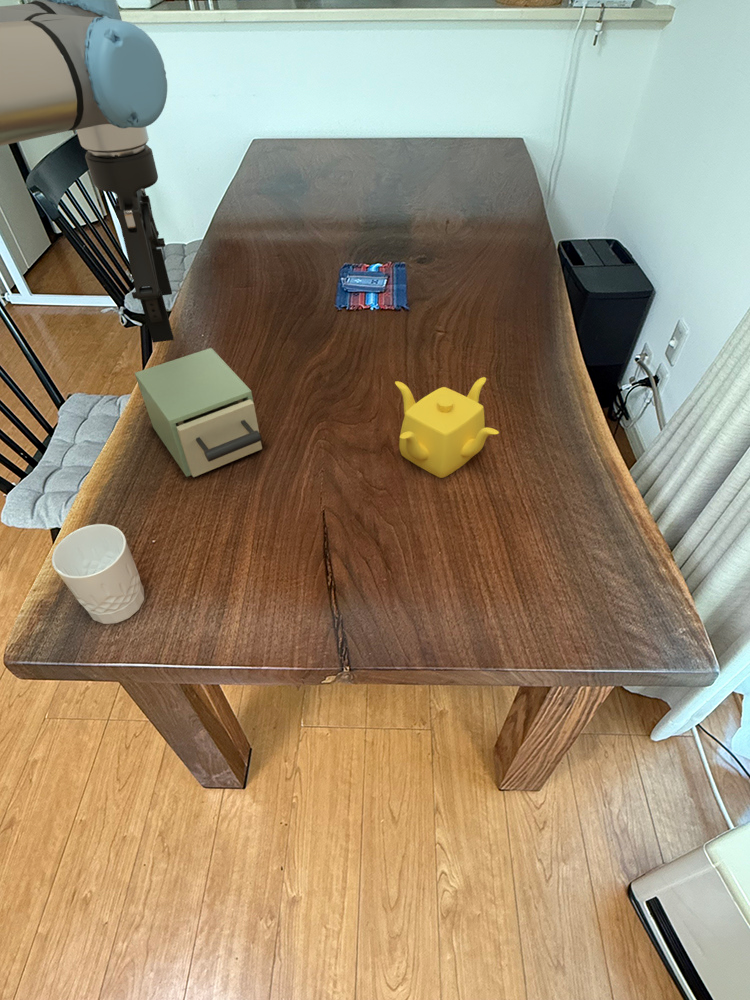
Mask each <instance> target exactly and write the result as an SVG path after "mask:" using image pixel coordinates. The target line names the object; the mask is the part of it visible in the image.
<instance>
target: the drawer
mask: <svg viewBox="0 0 750 1000" xmlns="http://www.w3.org/2000/svg"><path fill="white" fill-rule="evenodd" d="M175 424H176V428H177V431H178V435H179V438H180V441H181V444H182V448H183V451H184V454H185V457H186V461H187V464H188V467H189V470H190V473H191V475H190V476H192V478H195V477H199V476H200V475H202V474H206V473H208V472H210V471H212V470H215V469H217V468H220V467H222V466H225V465H227V464H230V463H233V462H234V461H237V460H239V459H242V458H244V457H246V456H248V455H252V454H254V453H256V452H259V451H262V450H263V446H262V436H261V434H260V429H259V424H258V419H257V414H256V407H255V403H254V401H253V402H252V401H251V399H249V400H247V401H244V402H243V399H240V400H238V401H235V402H232V403H229V404H227V405H224V406H221V407H219V408H216V409H213V410H211V411H208V412H205V413H202V414H200V415H197V416H194V417H192V418H189V419H186V420H184V421H181V422H178V423H175Z"/></svg>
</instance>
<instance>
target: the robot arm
mask: <svg viewBox="0 0 750 1000" xmlns="http://www.w3.org/2000/svg"><path fill="white" fill-rule="evenodd" d="M167 97H168V79H167V71H166V69H165V63H164V59H163V57H162V55H161V52H160V51H159V48H158V46H157V45H156V44H155V42H154V40H153V39H152V38H151V36H150V35H149V34H148V33H147V32H146V31H145V30H144V29H142V28H141V27H140V26H138V25H136V24H135V23H132V22H129V21H126V20H125V21H124V20H123V18H122V15H121V12H120V8H119V5H118V1H117V0H32V1H31V2H30V1H29V2H27V3H21V4H12V5H0V147H1V146H6V145H11V144H15V143H19V142H24V141H29V140H33V139H37V138H42V137H43V138H44V137H46V136H51V135H56V134H61V133H65V132H70V131H71V132H72V131H76V133H77V138H78V140H79V144H80V146H81V147H82V149H84V150H86V152H85V155H84V157H85V161H86V164H87V167H88V170H89V174H90V177H91V181H92V183H93V186H94V187H96V188H97V189H98V190H100V191H102V192H107V193H109V192H111V193H113V194H116V196H117V197H115V203H116V204H114V211H115V215H116V219H118V223H119V226H120V231H121V234H122V239H123V242H124V247H125V251H126V255H127V260H128V264H129V268H130V272H131V273H130V274H131V277H132V282H133V286H134V290H135V291H133V292H132V291H131V296H132V299H134V300H136V299H137V300H138V301H140V304H141V308H142V310H143V314H144V317H145V321H146V324H147V328H148V331H149V335H150V338H151V341H152V343H154V344H155V343H161V342H169V341H174V340H175V338H174V334H173V330H172V327H171V323H170V318H169V314H168V311H167V306H166V304H165V303H166V302H165V300H164V296H170V295H173V290H172V287H171V283H170V278H169V274H168V271H167V267H166V262H165V258H164V254H163V251H162V248H164V247H165V248H166V243H165V238H164V237H161V238H159V237H160V232H159V230H158V228H157V225H156V222H155V218H154V215H153V210H152V204H151V198H150V195H147V193H146V189H148V188H151V187H152V186H154V185H155V184H156V183H157V182H158V179H159V174H158V170H157V166H156V162H155V158H154V154H153V149H152V148H151V147H150V146H149V145H148V144H147V143H148V142H149V138H150V137H149V133H148V131H147V127H148V126H150V125H152V124H153V123H155V122H156V121H157V120H158V119H159V118H160V116H161V115H162V113H163V111H164V109H165V106H166V103H167Z"/></svg>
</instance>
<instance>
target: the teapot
mask: <svg viewBox="0 0 750 1000" xmlns="http://www.w3.org/2000/svg"><path fill="white" fill-rule="evenodd" d="M486 382H487V377H485V376H482V377H480V378H478V379H476V381H475V382H474V384H473V385H472V387H471V388H470V390H469V392H468V394H467V395H463V394H461V393H459V392H457V391H455V390H453V389H450V388H449V387H446V386H442V387H439V388H437V389H436V390H434V391H432V392H430V393H429V394H426V396H424V397H422V398H421V399H419V400H418V401H416V400H415V398H414V395H413V393H412V391H411V389H410V388H409V387H408V385H407V384H406V383H403V382H401V381H398V380H397V381H395V382H394V384H395V386H396V387H397V388H398V390H399V391H400V393H401V397H402V401H403V420H402V425H401V429H400V434H399V442H398V443H399V444H398V449H399V452H400V455H401V456H402V457H403V458H405V459H406V460H407V461H409V462H411V463H413V464H414V465H415V466H417V467H419V468H420V469H422V470H425V471H426V472H427V473H428V474H429V473H430V474H432V475H433V476H435V477H437V478H440V479H443V478H446V477H448V476H449V475H451V474H453V473H455V472H456V471H457V470H459V469H460V468H461V467H463V466H464V465H465V464H467V463H468V462H469V461H470V460H471V459H472V458H473V457H474V456H475V455H477V454H478V453H480V452H481V450H482V449H483V448H484V445H485V444H486V440H487V438H488V437H489V436H493V435H495V436H496V435H498V434H500V431H498V430H497V429H495V428H492V427H486V423H485V419H486V418H485V409H484V408H485V407H484V405H482V404H481V403H479V401H480V400H479V399H480V395H481V391H482V388H483V387H484V385H485V383H486Z"/></svg>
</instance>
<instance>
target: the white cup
mask: <svg viewBox="0 0 750 1000" xmlns="http://www.w3.org/2000/svg"><path fill="white" fill-rule="evenodd" d="M51 555H52V556H51V564H52V567H53V569H54V570H55V572H56V573H57V575H58V576H59V577H60V578H61V579H60V580H61V581H63V583H64V585H65V586H66V587H67V588H68V590H69V591H70V593H71V594H72V595H73V596H74V598H75V599H76V601H77V602H78V603H79V605H80V606H82V607H83V609H85V610H86V612H87V613H88V615H89V616H90V618H91V619H92V620H93V621H95V622H98V623H100V624H102V625H111V624H119V623H121V622H123V621H125V620H128V619H130V618H131V617H132V616H133V615H134V614H136V613H137V612H138V611H140V609H141V607H142V605H143V603H144V601H145V588H144V586H143V583H142V581H141V578H140V573H139V571H138V568H137V565H136V562H135V559H134V557H133V554H132V551H131V549H130V547H129V544H128V541H127V538H126V536H125V534H124V532H122V530H121V529H119V528H118V527H117V526H114V525H111V524H107V523H95V524H90V525H85V526H82V527H80V528H78V529H75V530H73V531H72V532H70V533H69V534H67V535H66V536H64V537H63V538H62V539H61V540H60V541H59V542H58V543H57V545H56V546H55V548H54V550H53V552H52V554H51Z"/></svg>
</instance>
